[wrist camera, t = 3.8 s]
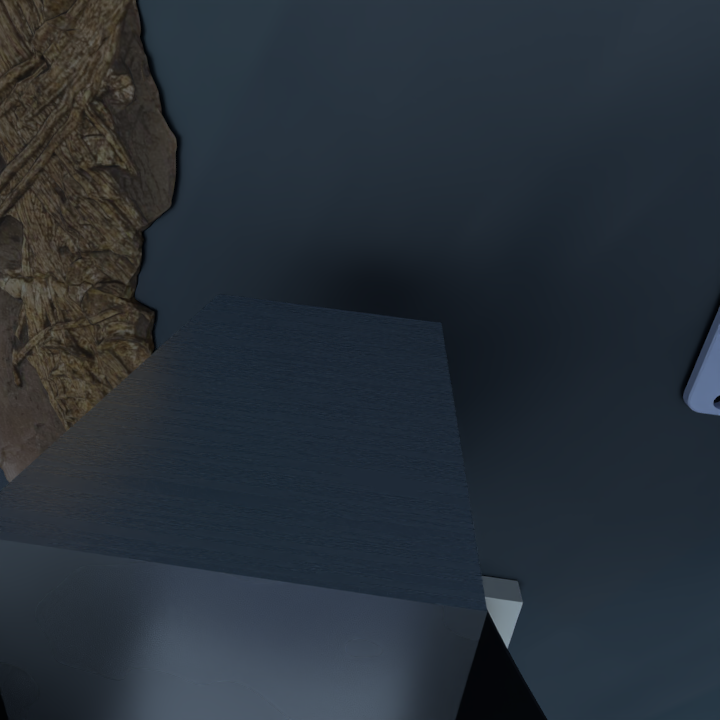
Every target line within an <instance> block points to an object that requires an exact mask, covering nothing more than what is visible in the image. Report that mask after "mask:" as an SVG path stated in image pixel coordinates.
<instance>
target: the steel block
mask: <svg viewBox="0 0 720 720" xmlns="http://www.w3.org/2000/svg"><path fill="white" fill-rule="evenodd" d="M486 615H487V607H486V601H485V594H484V588H483V582H482V575H481V569H480V563H479V557H478V550H477V544H476V538H475V531H474V525H473V519H472V513H471V506H470V500H469V494H468V487H467V481H466V475H465V468H464V462H463V456H462V450H461V443H460V437H459V431H458V424H457V418H456V412H455V405H454V399H453V393H452V387H451V380H450V374H449V368H448V361H447V355H446V349H445V343H444V336H443V330H442V324H441V323H439V322H432V321H424V320H416V319H408V318H401V317H393V316H385V315H378V314H370V313H362V312H355V311H347V310H339V309H332V308H324V307H316V306H309V305H301V304H293V303H286V302H278V301H270V300H262V299H255V298H247V297H239V296H232V295H224V294H218V295H217V296H216V297H215V298H214V299H213V300H212V301H211V302H210V303H208V304H207V305H206V306H205V307H204V308H203V309H202V310H201V311H200V312H198V313H197V314H196V315H195V316H194V317H193V318H192V319H191V320H190V321H188V322H187V323H186V324H185V325H184V326H183V327H182V328H181V329H180V330H178V331H177V332H176V333H175V334H174V335H173V336H172V337H171V338H170V339H168V340H167V341H166V342H165V343H164V344H163V345H162V346H161V347H160V348H158V349H157V350H156V351H155V352H154V353H153V354H152V355H151V356H150V357H148V358H147V359H146V360H145V361H144V362H143V363H142V364H141V365H140V366H139V367H137V368H136V369H135V370H134V371H133V372H132V373H131V374H130V375H129V376H127V377H126V378H125V379H124V380H123V381H122V382H121V383H120V384H119V385H117V386H116V387H115V388H114V389H113V390H112V391H111V392H110V393H109V394H107V395H106V396H105V397H104V398H103V399H102V400H101V401H100V402H99V403H97V404H96V405H95V406H94V407H93V408H92V409H91V410H90V411H89V412H87V413H86V414H85V415H84V416H83V417H82V418H81V419H80V420H79V421H77V422H76V423H75V424H74V425H73V426H72V427H71V428H70V429H69V430H67V431H66V432H65V433H64V434H63V435H62V436H61V437H60V438H59V439H57V440H56V441H55V442H54V443H53V444H52V445H51V446H50V447H49V448H48V449H46V450H45V451H44V452H43V453H42V454H41V455H40V456H39V457H38V458H36V459H35V460H34V461H33V462H32V463H31V464H30V465H29V466H28V467H26V468H25V469H24V470H23V471H22V472H21V473H20V474H19V475H18V476H16V477H15V478H14V479H13V480H12V481H11V482H10V483H9V484H8V485H6V486H5V487H4V488H3V489H2V490H1V491H0V692H1V696H2V699H3V703H4V706H5V709H6V713H7V716H8V720H455V718H456V715H457V712H458V708H459V705H460V702H461V698H462V695H463V692H464V688H465V685H466V682H467V678H468V675H469V672H470V668H471V665H472V662H473V658H474V655H475V651H476V648H477V645H478V641H479V638H480V635H481V631H482V628H483V625H484V621H485V618H486Z"/></svg>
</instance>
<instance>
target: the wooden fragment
mask: <svg viewBox="0 0 720 720" xmlns="http://www.w3.org/2000/svg"><path fill="white" fill-rule="evenodd" d="M140 34H141V27H140V19H139V13H138V9H137V5H136V0H0V468H1V469H2V470H3V471H4V473H5V476H6V478H7V480H8V481H9V483H10V482H11V481H12V480H13V479H14V478H15V477H16V476H18V475H19V474H20V473H21V472H22V471H23V470H24V469H25V468H26V467H28V466H29V465H30V464H31V463H32V462H33V461H34V460H35V459H36V458H38V457H39V456H40V455H41V454H42V453H43V452H44V451H45V450H46V449H48V448H49V447H50V446H51V445H52V444H53V443H54V442H55V441H56V440H57V439H59V438H60V437H61V436H62V435H63V434H64V433H65V432H66V431H67V430H69V429H70V428H71V427H72V426H73V425H74V424H75V423H76V422H77V421H79V420H80V419H81V418H82V417H83V416H84V415H85V414H86V413H87V412H89V411H90V410H91V409H92V408H93V407H94V406H95V405H96V404H97V403H99V402H100V401H101V400H102V399H103V398H104V397H105V396H106V395H107V394H109V393H110V392H111V391H112V390H113V389H114V388H115V387H116V386H117V385H119V384H120V383H121V382H122V381H123V380H124V379H125V378H126V377H127V376H129V375H130V374H131V373H132V372H133V371H134V370H135V369H136V368H137V367H139V366H140V365H141V364H142V363H143V362H144V361H145V360H146V359H147V358H148V357H150V356H151V354H152V352H153V350H154V348H155V347H154V343H153V339H152V330H153V326H154V320H155V312H154V311H153V310H151V309H149V308H148V307H146V306H144V305H143V304H141V303H139V302H138V301H137V300H136V299H135V295H134V292H135V289H136V286H137V275H138V274H139V272H140V267H141V261H142V245H143V242H144V238H143V236H142V231H144V230H145V229H147V228H148V227H150V226H151V225H152V223H153V222H154V221H155V220H156V219H158V218H159V217H160V216H161V215H162V213H164V212H165V211H167V210H168V209H169V208H170V206H171V200H172V196H173V192H174V185H175V178H176V149H177V142H176V137H175V135H174V133H173V132H172V131H171V130H170V129H169V127H168V125H167V123H166V121H165V119H164V117H163V115H162V108H161V103H160V98H159V92H158V89H157V86H156V84H155V82H154V80H153V78H152V76H151V73H150V69H149V65H148V61H147V57H146V54H145V53H144V49H143V45H142V42H141V39H140Z"/></svg>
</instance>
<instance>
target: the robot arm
mask: <svg viewBox="0 0 720 720" xmlns="http://www.w3.org/2000/svg"><path fill="white" fill-rule="evenodd" d="M719 395H720V307H719V309H718V312H717V314H716V317H715V319H714V321H713V324H712V326H711V328H710V331H709V333H708V336H707V338H706V340H705V343H704V345H703V348H702V350H701V352H700V355H699V357H698V359H697V362H696V364H695V367H694V369H693V371H692V374H691V376H690V379H689V381H688V383H687V386H686V388H685V390H684V394H683V399H684V402H685V403H686V404H687V405H688V406H689V407H690V408H691V409H692V410H693V411H695V412H698V413H705V414H712V415H720V401H719V402H717V403H714V400H715V398H716V397H717V396H719ZM0 720H8V716H7V713H6V709H5V706H4V703H3V699H2V696H1V692H0ZM455 720H547V718H546V716H545V715H544V713H543V711H542V710H541V708H540V706H539V705H538V703H537V701H536V699H535V698H534V696H533V694H532V692H531V691H530V689H529V687H528V686H527V684H526V682H525V680H524V679H523V677H522V675H521V673H520V671H519V670H518V668H517V666H516V664H515V662H514V660H513V659H512V657H511V655H510V653H509V651H508V649H507V647H506V645H505V643H504V641H503V639H502V637H501V636H500V634H499V632H498V630H497V628H496V626H495V624H494V622H493V620H492V618H491V616H490V614H489V612H488V610H487V615H486V618H485V621H484V625H483V628H482V631H481V635H480V638H479V641H478V645H477V648H476V651H475V655H474V658H473V662H472V665H471V668H470V672H469V675H468V678H467V682H466V685H465V688H464V692H463V695H462V698H461V702H460V705H459V708H458V712H457V715H456V718H455Z"/></svg>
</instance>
